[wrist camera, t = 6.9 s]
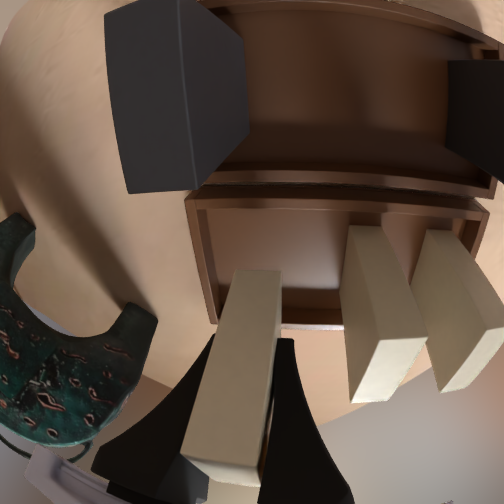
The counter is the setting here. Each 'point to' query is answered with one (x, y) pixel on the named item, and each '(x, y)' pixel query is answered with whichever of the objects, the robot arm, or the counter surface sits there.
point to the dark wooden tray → (350, 94)
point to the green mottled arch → (61, 362)
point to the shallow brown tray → (312, 238)
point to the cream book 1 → (238, 383)
